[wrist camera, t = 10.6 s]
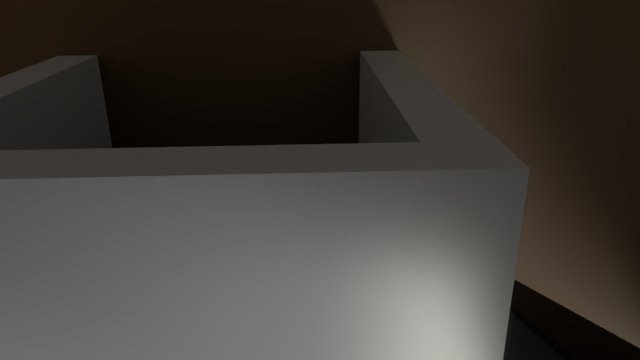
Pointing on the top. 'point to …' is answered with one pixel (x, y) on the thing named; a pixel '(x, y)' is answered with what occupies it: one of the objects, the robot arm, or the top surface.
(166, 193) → the grey arch block
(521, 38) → the top surface
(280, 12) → the top surface
